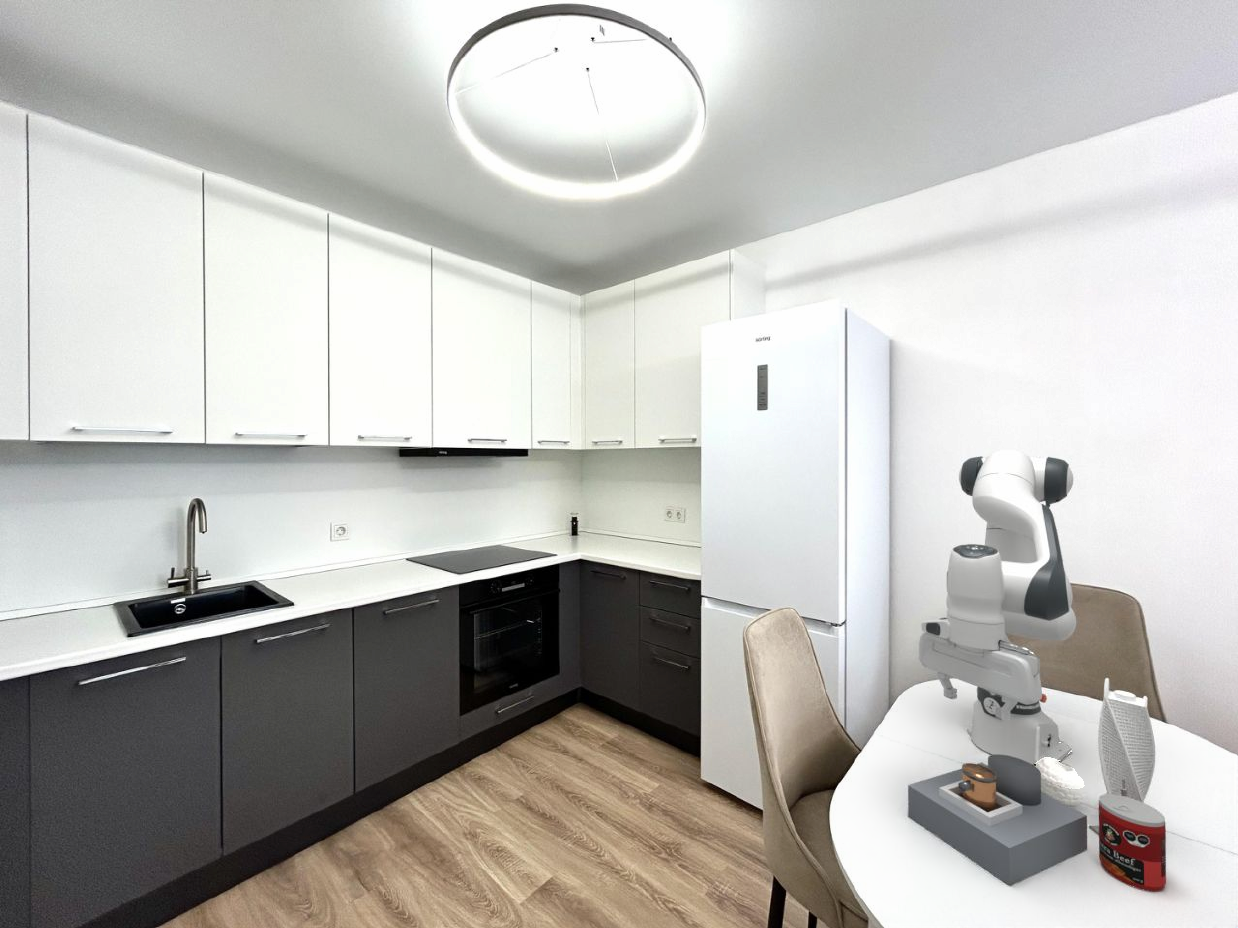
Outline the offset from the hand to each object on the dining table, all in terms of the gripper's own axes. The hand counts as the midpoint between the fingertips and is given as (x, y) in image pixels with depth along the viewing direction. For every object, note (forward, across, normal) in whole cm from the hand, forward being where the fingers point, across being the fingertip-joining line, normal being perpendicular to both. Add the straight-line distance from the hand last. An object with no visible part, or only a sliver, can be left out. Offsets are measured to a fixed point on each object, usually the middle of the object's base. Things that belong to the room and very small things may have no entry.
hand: (975, 707), depth 95 cm
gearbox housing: (+23, -1, -4) cm, 23 cm away
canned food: (+23, -16, -14) cm, 32 cm away
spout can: (+20, -1, +2) cm, 20 cm away
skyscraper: (+23, -11, -24) cm, 36 cm away
